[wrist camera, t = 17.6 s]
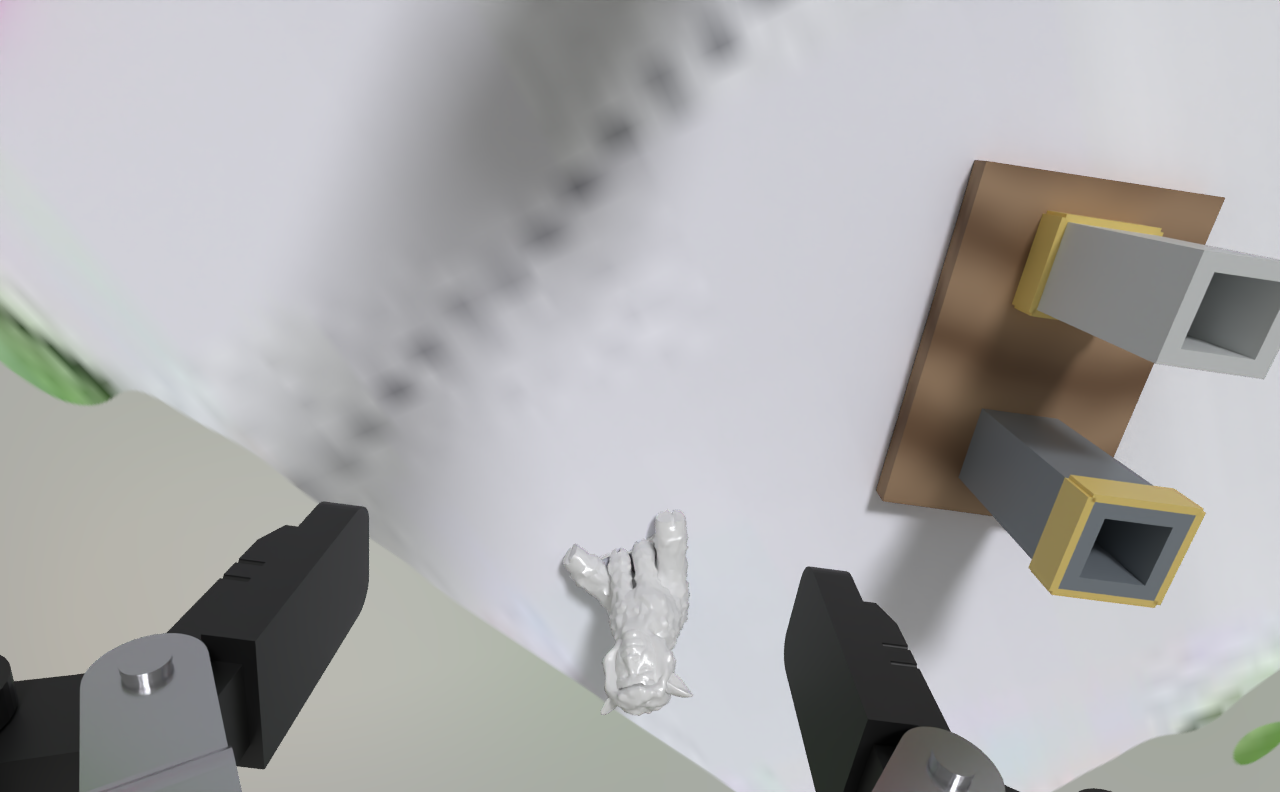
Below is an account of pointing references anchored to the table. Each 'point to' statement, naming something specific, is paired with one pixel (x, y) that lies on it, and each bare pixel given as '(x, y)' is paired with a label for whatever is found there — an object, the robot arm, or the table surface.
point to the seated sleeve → (1155, 294)
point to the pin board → (1018, 330)
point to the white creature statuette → (640, 613)
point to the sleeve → (1078, 510)
